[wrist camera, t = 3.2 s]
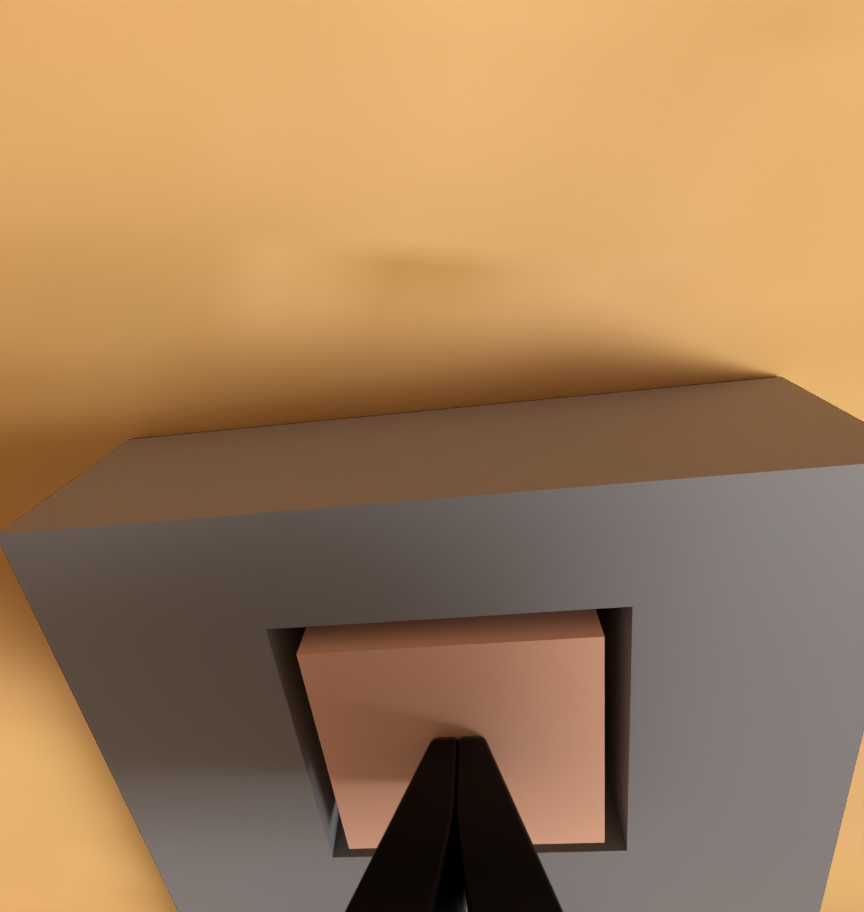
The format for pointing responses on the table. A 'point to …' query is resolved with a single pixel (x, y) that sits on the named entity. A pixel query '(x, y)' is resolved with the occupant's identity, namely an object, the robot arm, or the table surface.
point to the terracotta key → (464, 712)
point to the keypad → (478, 594)
